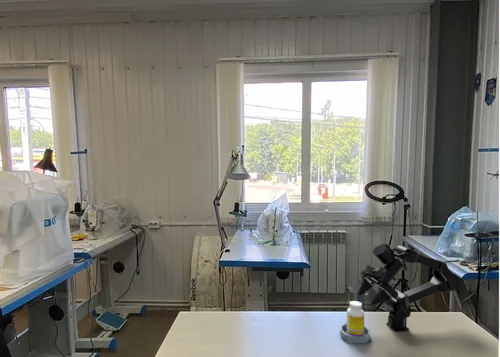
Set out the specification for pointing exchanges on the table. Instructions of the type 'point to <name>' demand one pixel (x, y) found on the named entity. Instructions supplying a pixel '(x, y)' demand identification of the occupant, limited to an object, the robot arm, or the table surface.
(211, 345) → the table surface
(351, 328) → the supplement bottle
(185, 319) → the table surface
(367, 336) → the round tray
